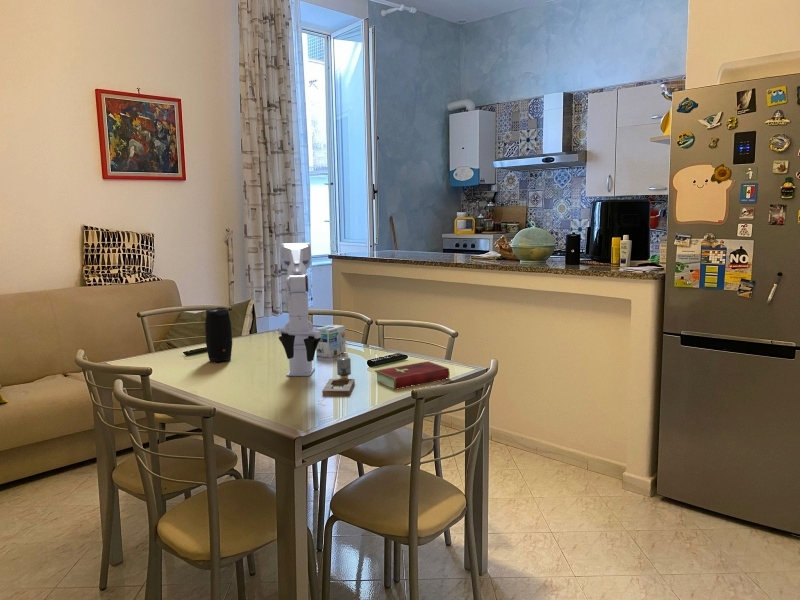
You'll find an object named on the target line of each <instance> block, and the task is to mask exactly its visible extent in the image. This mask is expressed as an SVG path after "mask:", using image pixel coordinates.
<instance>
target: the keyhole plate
mask: <svg viewBox="0 0 800 600" xmlns="http://www.w3.org/2000/svg"><path fill="white" fill-rule="evenodd" d="M355 381H356V380H355V378H348V379H340V378H329V379H328V380H327V382H326V384H325V386H324V387H323V389H321V390H322V391H321V392H322V396H323V397H324V396H325V397H327V396H328V397H331V396H332V397H346V396H347V397H348V396H350V395H351V393H352V391H351V390H353V388H354V386H355ZM334 386H343V387H342V388H334Z"/></svg>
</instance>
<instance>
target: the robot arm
mask: <svg viewBox="0 0 800 600" xmlns="http://www.w3.org/2000/svg"><path fill="white" fill-rule="evenodd" d="M311 248H312V247H311V243H310V242H294V243H293V242H292V243H291V242H289V243H287V242H286V243H284V242H282V243H281V244H280V259H281V266H282V268H283V269H284V270H287V272H286V273H287V277H285V278H286V279H285V282H286V283H285V286H286V287H285V288H286V289H285V290H286V296H287V301H288V321H287V322H286V323H284V326H282V327H278V335H279V336H278V340H279V341H280V343H281V345H282V346H283V348H284V351H285V355H286V359H287V360H288V362H289V363H288V365H289V371H288V372H287V373H286V377H300V376H301V377H304V376H305V377H310V376H311V374H313V373H314V371H315V369H316V367H313V361H314V358H315V356H316V355H315V354H316V348H317V345H318V343H319V341H320V337H321V331H317V330H316V329H314V325H313V324H314V323H313V322H311V321H310V319H309V299H308V298H309V297H308V295H309V291H310V286H309V285H310V283H309V282H310V281H309V280H310V279H309V275H308V274H307V270H308V269H309V268H310V267H311V262H312V261H311V260H312V252H311V251H312V249H311Z"/></svg>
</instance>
